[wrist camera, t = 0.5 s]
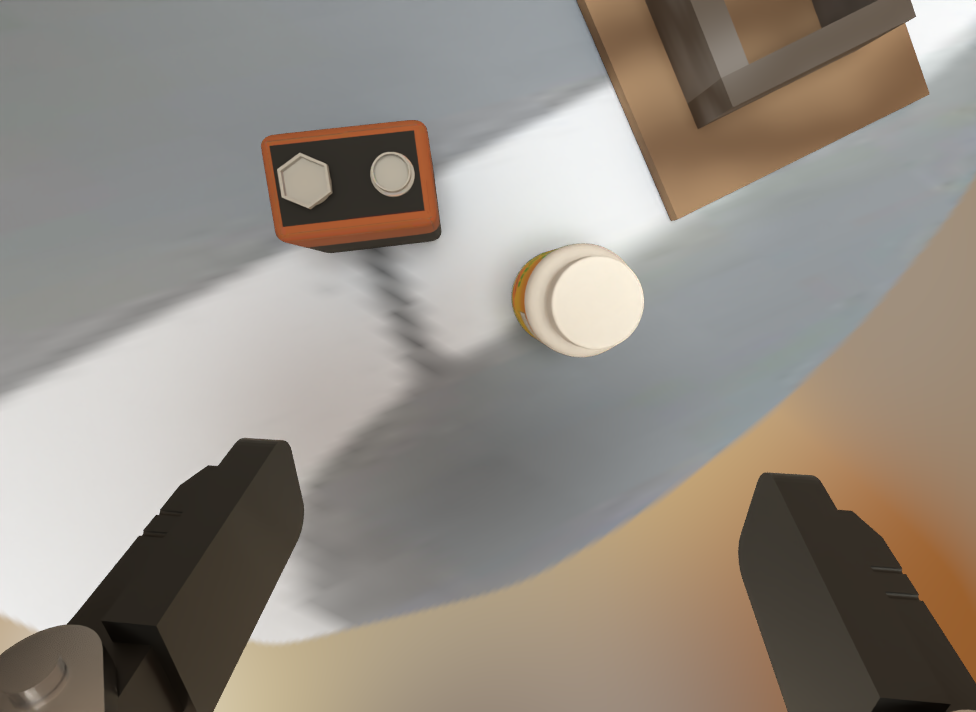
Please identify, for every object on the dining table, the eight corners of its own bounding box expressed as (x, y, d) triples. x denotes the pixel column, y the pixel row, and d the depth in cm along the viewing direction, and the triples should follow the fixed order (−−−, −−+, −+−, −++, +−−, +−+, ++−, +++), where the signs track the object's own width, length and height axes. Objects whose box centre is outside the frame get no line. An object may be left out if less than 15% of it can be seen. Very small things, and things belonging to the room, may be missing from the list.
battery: (311, 176, 32) (247, 127, 22) (432, 162, 32) (424, 108, 22) (323, 254, 32) (267, 242, 22) (442, 240, 33) (438, 222, 23)
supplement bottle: (562, 231, 33) (608, 210, 23) (619, 302, 34) (686, 310, 24) (491, 291, 33) (508, 295, 24) (549, 361, 34) (588, 392, 24)
